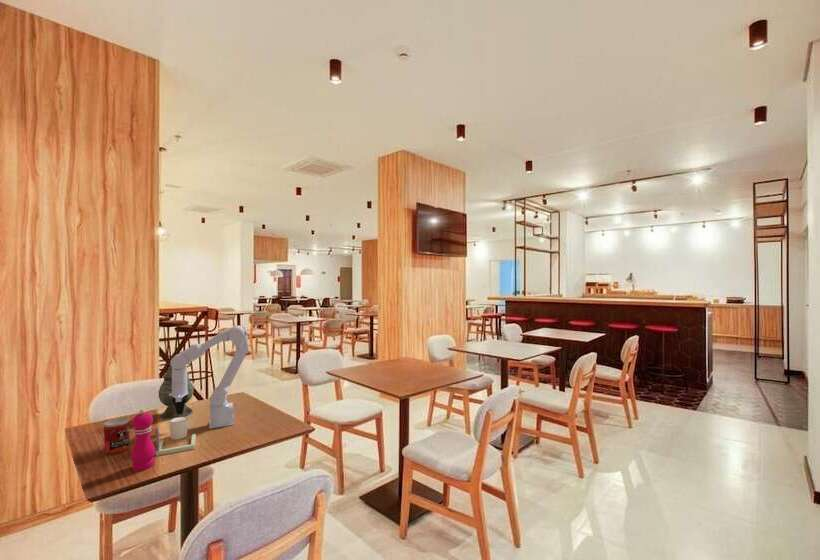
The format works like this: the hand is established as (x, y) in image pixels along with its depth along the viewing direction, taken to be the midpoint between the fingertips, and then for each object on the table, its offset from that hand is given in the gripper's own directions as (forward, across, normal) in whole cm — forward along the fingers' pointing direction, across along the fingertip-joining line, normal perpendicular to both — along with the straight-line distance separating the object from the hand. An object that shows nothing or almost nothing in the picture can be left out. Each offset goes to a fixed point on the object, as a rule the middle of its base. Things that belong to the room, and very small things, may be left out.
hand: (180, 413), depth 168 cm
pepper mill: (+7, +32, -9) cm, 34 cm away
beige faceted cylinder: (+7, +8, 0) cm, 11 cm away
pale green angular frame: (+7, +19, -1) cm, 20 cm away
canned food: (+7, +12, -20) cm, 24 cm away
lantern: (+7, -22, -3) cm, 23 cm away
